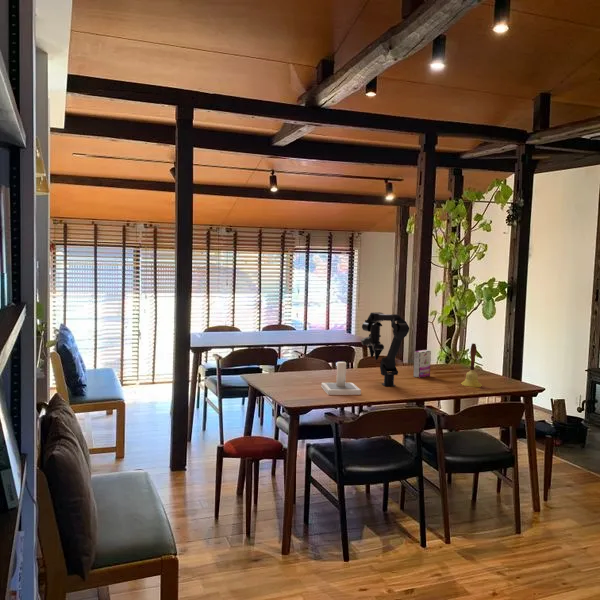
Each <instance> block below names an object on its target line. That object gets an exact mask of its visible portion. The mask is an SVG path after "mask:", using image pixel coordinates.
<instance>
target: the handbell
mask: <svg viewBox="0 0 600 600" xmlns="http://www.w3.org/2000/svg"><path fill="white" fill-rule="evenodd" d="M469 355H470V368H469V369H470V370H469V371H467V372H466V374H465V379H464V380H463V381H462V382H461V383H460V385H461V384H462V385H461V386H463V385H464V386H463V387H467V386H469V387H468V388H482V387H483V385H482V383H480V381H479V380H478V378H479V376H478V375H479V374H478V373H477V372H476V371H475V365H476V364H475V363H476V362H475V361H476V356H477V345H476V343H471V347H470V353H469ZM481 386H482V387H481Z"/></svg>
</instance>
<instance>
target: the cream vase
mask: <svg viewBox="0 0 600 600" xmlns="http://www.w3.org/2000/svg"><path fill="white" fill-rule="evenodd" d="M346 376H347V362H346V361H337V362H336V378H335V379H336V380H335V381H336V382H335V383H336V386H338V387H345V383H346V380H347V377H346Z"/></svg>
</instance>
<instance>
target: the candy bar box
mask: <svg viewBox="0 0 600 600" xmlns="http://www.w3.org/2000/svg"><path fill="white" fill-rule="evenodd" d="M413 355H414V357H413V378H417V377H419V379H421V378H427V377H430V376H431V360H432V359H431V355H432V351H431V350H427V349H422V350H421V349H420V350H415V351H414V354H413ZM426 376H427V377H426ZM420 377H421V378H420Z"/></svg>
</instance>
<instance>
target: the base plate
mask: <svg viewBox="0 0 600 600" xmlns="http://www.w3.org/2000/svg"><path fill="white" fill-rule="evenodd" d="M320 386H321V388H322V389H323V391H324V392H325V394H327V396H328V395H329V396H337V395H338V396H342V395H343V396H344V395H346V396H347V395H348V396H351V395H352V396H355V395H357V396H358V395H359V396H360V395H361V394H362V389H361V388H359V387H358V386H357V385H356V384H354V383H353V382H345V387H338V386H336V382H321V385H320Z"/></svg>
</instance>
